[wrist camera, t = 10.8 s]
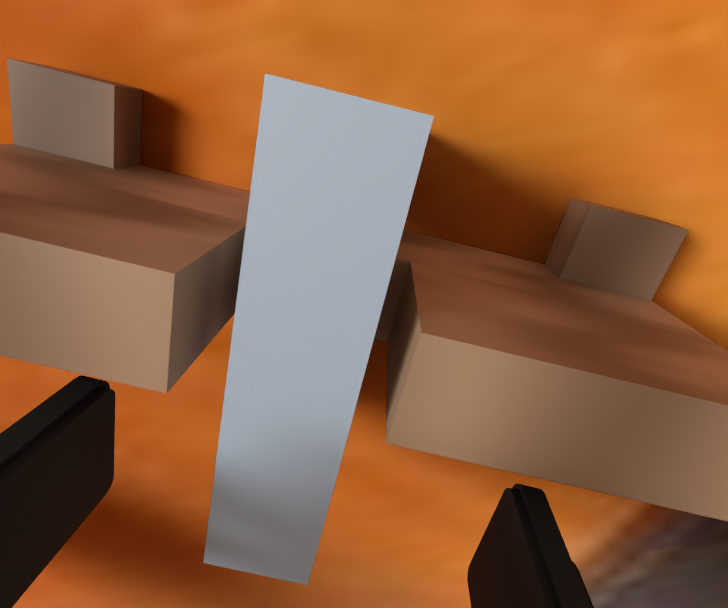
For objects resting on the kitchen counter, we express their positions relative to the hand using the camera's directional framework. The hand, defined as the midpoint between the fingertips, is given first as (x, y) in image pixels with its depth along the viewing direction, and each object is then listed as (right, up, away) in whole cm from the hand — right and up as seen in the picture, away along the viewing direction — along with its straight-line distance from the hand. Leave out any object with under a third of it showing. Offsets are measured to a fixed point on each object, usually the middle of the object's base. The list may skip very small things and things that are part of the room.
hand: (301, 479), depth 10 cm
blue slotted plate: (+1, +5, +5) cm, 8 cm away
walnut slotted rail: (+1, +6, +5) cm, 8 cm away
